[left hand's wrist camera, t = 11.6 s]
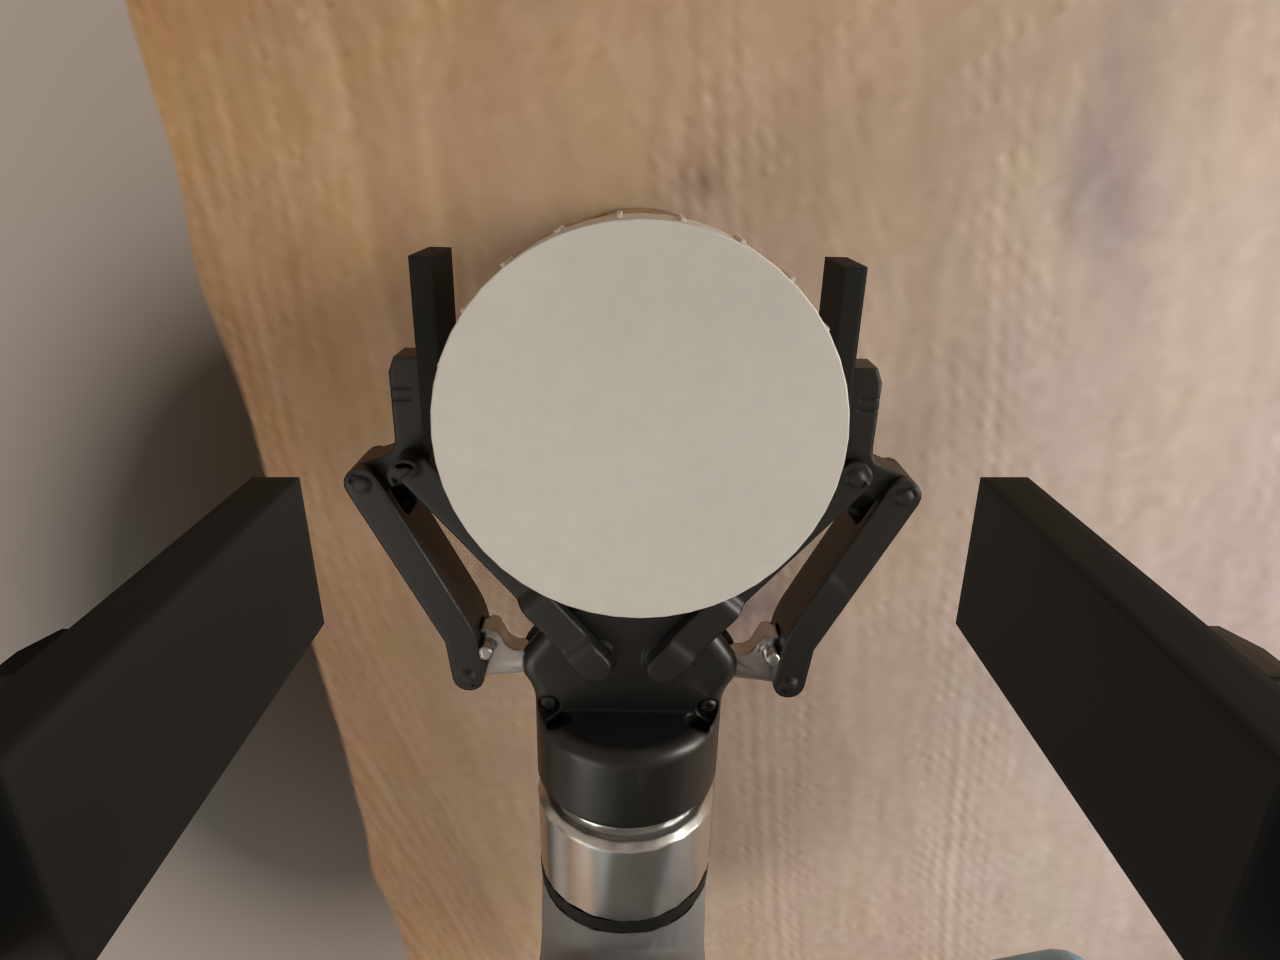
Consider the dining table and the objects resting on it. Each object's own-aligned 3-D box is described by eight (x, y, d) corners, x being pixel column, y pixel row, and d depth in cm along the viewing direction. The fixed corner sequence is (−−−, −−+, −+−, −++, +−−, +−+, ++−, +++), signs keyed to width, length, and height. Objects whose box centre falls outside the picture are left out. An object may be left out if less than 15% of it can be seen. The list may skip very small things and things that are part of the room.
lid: (366, 343, 20) (339, 363, 18) (722, 125, 18) (731, 122, 16) (575, 638, 23) (569, 679, 21) (895, 478, 21) (919, 508, 19)
